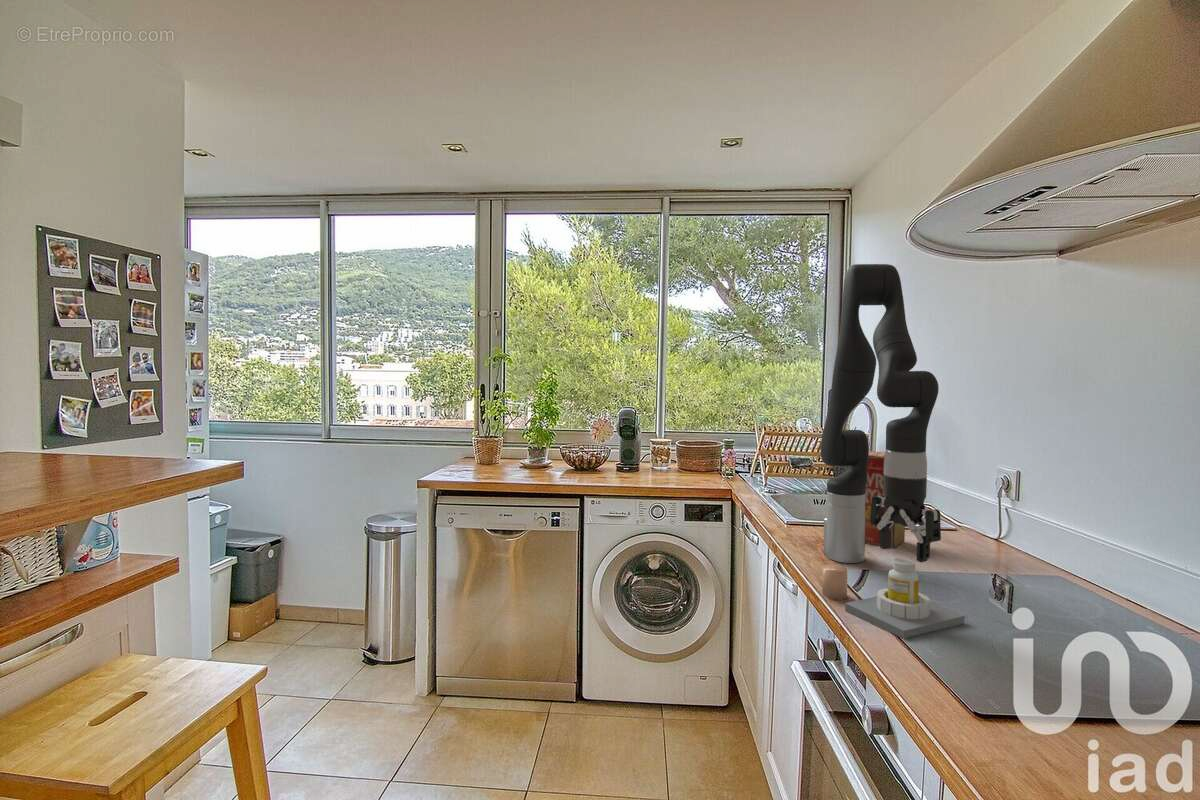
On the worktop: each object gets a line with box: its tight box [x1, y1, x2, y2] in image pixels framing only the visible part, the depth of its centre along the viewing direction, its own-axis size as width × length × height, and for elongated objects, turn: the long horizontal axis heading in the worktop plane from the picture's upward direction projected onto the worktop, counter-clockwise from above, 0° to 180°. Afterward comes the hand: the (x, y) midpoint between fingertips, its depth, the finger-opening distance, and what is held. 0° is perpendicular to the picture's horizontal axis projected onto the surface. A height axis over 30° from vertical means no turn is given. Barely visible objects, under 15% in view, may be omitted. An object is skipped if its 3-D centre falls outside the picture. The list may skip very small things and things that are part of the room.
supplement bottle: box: [887, 557, 920, 604], centre depth 117 cm, size 5×5×10 cm
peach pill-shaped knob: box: [821, 563, 848, 601], centre depth 129 cm, size 5×5×6 cm
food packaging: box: [846, 450, 906, 549], centre depth 168 cm, size 13×9×25 cm
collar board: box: [844, 587, 965, 639], centre depth 118 cm, size 14×16×4 cm
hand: (903, 554), depth 117 cm, fingers open, 8 cm apart
